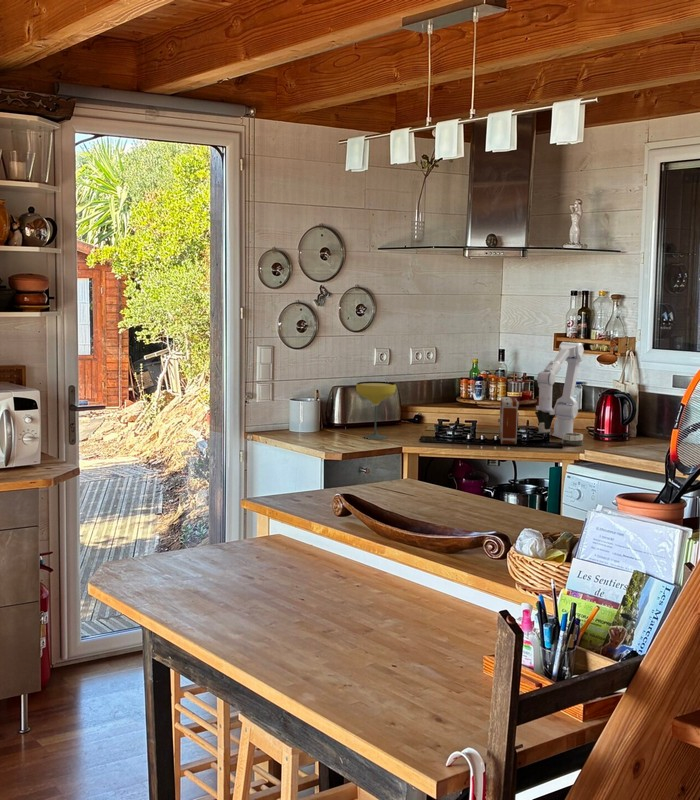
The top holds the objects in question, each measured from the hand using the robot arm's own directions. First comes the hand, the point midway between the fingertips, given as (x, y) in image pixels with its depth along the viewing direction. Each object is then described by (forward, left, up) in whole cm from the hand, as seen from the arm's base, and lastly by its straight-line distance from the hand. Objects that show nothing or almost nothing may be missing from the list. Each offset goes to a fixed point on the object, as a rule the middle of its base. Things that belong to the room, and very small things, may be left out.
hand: (544, 428), depth 452 cm
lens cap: (0, 0, -2) cm, 2 cm away
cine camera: (-6, -15, -7) cm, 18 cm away
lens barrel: (+7, +10, -7) cm, 14 cm away
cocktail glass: (-28, -71, -7) cm, 77 cm away
